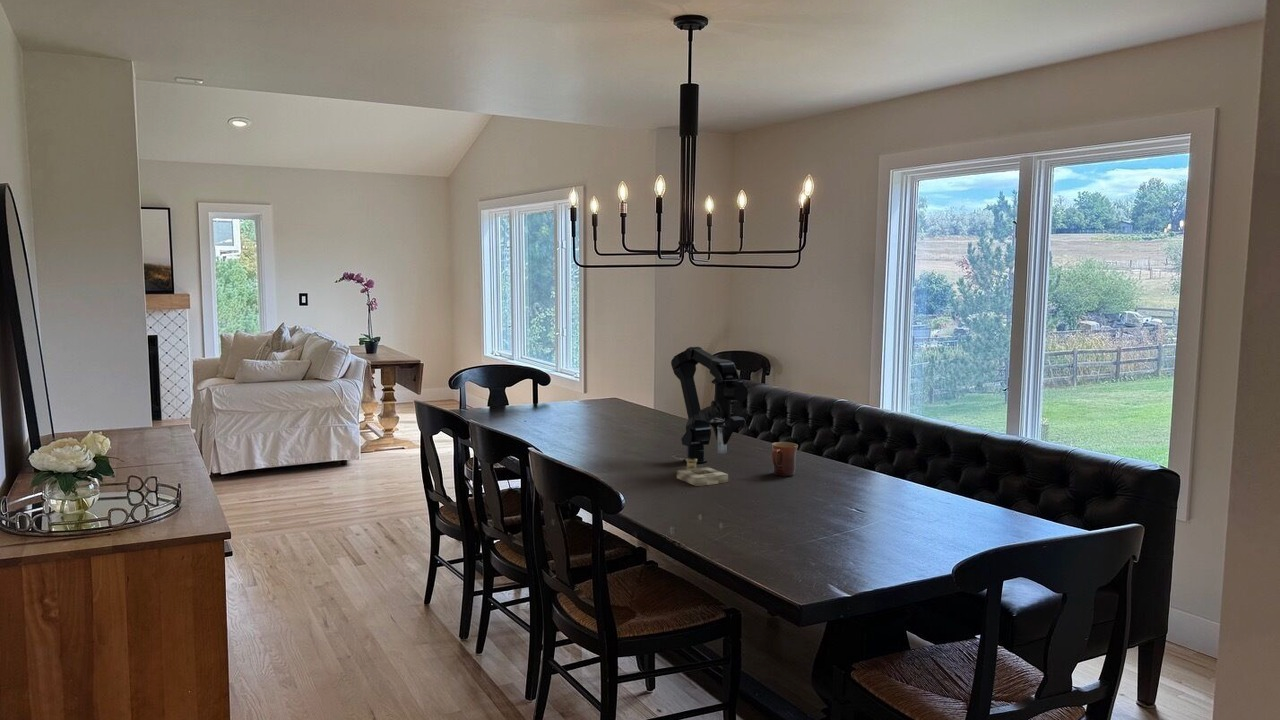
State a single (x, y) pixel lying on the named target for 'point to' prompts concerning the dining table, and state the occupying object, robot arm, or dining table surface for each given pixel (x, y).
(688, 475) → the socket board
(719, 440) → the long pin
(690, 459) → the short pin
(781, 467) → the mug
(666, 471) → the dining table surface
